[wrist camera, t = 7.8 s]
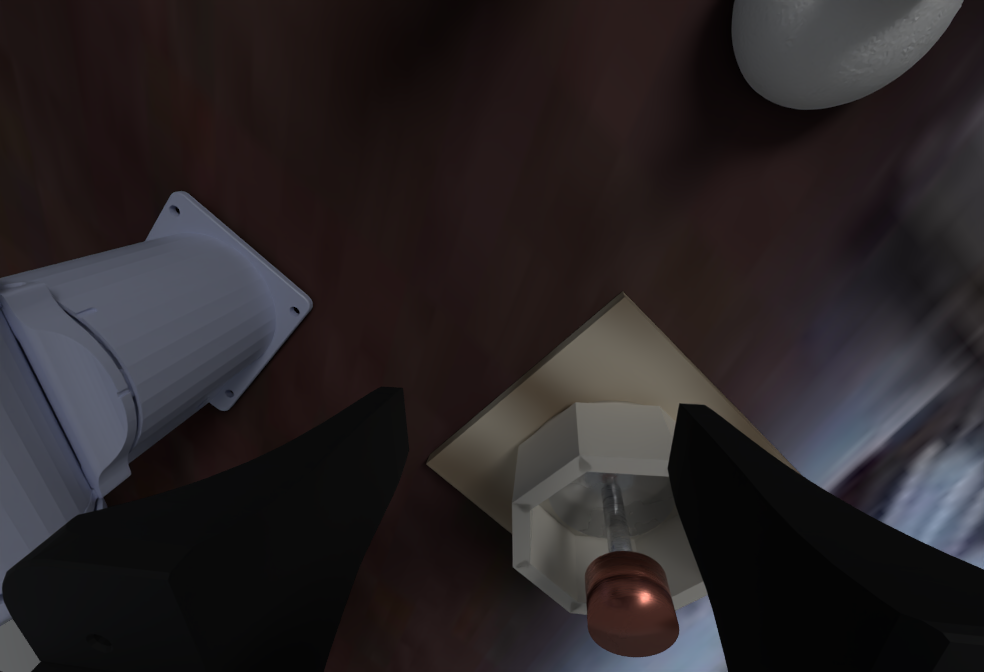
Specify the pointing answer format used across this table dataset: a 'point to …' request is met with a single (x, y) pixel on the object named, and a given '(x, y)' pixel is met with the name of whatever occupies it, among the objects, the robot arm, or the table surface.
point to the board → (578, 400)
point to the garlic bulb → (832, 46)
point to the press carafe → (566, 456)
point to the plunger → (623, 560)
